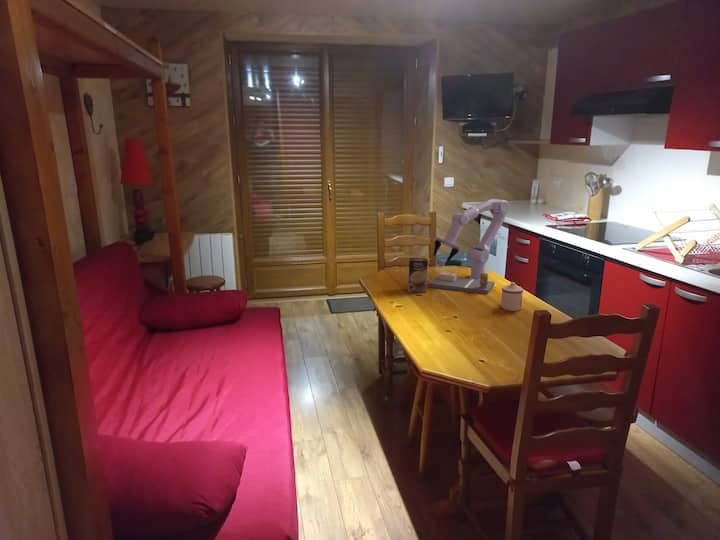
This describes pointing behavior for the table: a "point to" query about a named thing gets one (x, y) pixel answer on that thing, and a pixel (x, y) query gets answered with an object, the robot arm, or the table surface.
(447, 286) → the subfloor board
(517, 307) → the teacup with lid
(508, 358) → the table surface
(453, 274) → the stud finder
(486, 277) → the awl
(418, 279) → the coffee box
